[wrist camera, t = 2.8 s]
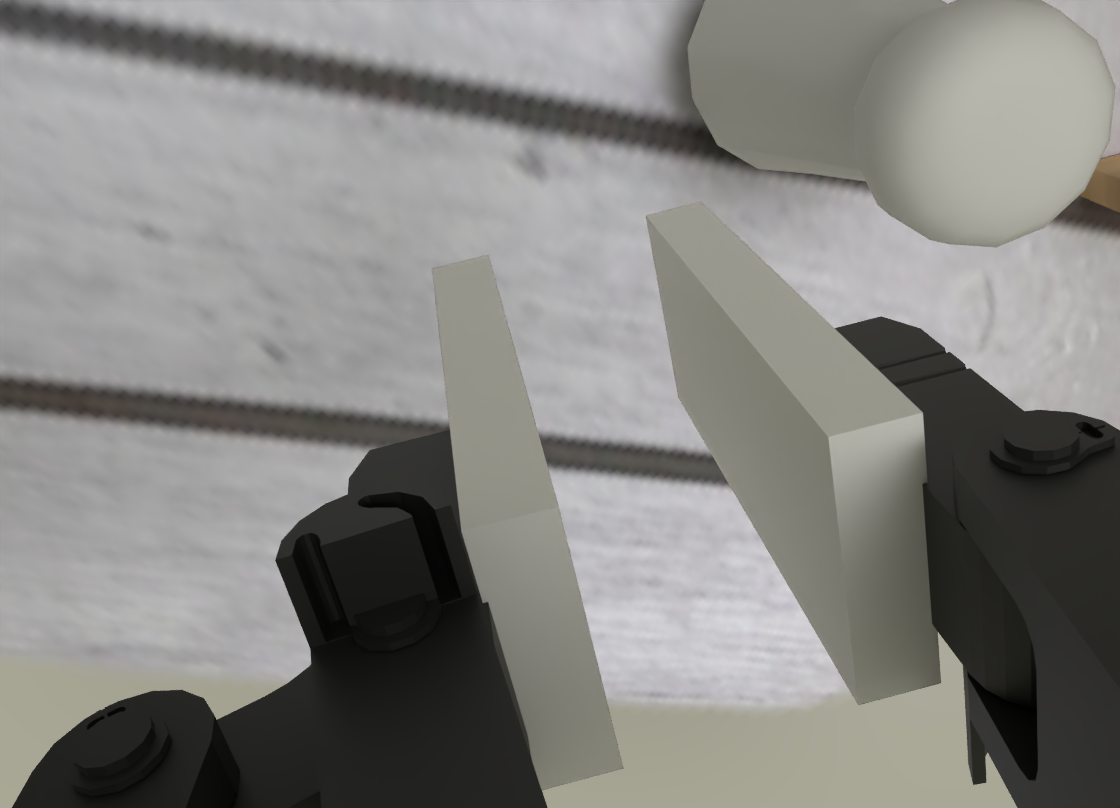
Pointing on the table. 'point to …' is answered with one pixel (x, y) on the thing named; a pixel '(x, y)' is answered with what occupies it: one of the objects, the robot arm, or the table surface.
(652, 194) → the table surface
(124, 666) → the table surface
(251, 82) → the table surface
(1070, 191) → the salt shaker
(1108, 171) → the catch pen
